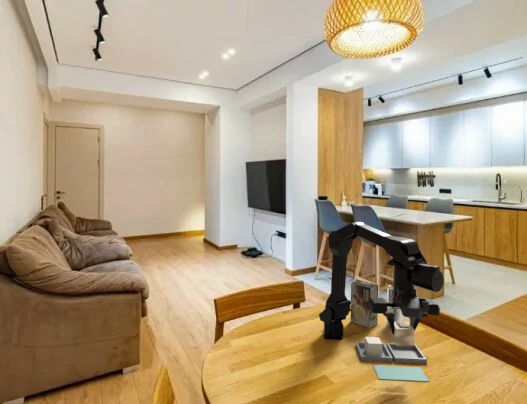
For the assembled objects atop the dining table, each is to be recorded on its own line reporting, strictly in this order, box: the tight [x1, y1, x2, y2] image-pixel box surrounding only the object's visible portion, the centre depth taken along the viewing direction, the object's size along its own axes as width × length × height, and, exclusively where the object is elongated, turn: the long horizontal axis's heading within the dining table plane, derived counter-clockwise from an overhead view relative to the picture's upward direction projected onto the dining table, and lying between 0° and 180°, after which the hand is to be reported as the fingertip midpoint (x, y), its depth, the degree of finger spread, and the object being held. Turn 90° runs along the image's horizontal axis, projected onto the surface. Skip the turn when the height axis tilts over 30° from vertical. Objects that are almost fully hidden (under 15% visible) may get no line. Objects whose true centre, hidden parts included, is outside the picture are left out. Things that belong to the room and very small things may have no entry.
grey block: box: [364, 336, 383, 356], centre depth 112 cm, size 4×4×4 cm
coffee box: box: [350, 279, 379, 329], centre depth 136 cm, size 9×6×16 cm
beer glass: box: [386, 285, 404, 327], centre depth 134 cm, size 7×7×15 cm
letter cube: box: [390, 321, 415, 346], centre depth 100 cm, size 5×5×5 cm
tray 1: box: [355, 341, 394, 363], centre depth 112 cm, size 10×10×2 cm
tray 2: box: [386, 342, 428, 365], centre depth 111 cm, size 10×10×2 cm
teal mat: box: [372, 364, 430, 383], centre depth 101 cm, size 14×7×1 cm, turn 85°
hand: (402, 334), depth 100 cm, fingers closed on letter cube, 5 cm apart
